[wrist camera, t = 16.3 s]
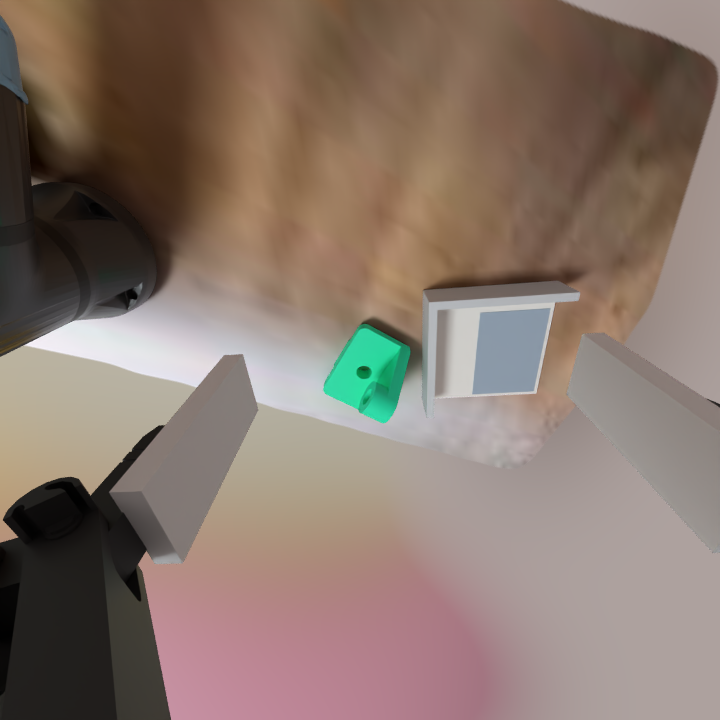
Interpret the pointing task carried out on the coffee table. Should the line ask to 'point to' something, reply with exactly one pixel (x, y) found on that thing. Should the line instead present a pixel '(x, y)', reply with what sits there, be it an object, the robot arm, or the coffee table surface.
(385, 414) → the camera mount
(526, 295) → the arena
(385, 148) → the coffee table surface
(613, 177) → the coffee table surface
